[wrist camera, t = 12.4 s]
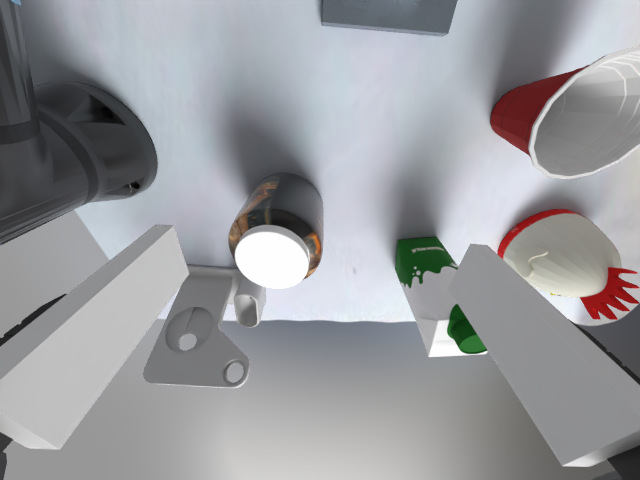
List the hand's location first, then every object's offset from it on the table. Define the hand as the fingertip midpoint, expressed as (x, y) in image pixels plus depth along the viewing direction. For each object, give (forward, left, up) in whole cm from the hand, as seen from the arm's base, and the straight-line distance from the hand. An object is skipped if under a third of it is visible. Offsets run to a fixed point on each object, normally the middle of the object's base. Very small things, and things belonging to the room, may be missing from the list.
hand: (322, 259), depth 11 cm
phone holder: (-18, -29, -27) cm, 44 cm away
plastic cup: (+25, +6, -27) cm, 37 cm away
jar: (-5, -10, -27) cm, 29 cm away
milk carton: (+19, -18, -27) cm, 38 cm away
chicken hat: (+41, -14, -27) cm, 51 cm away
